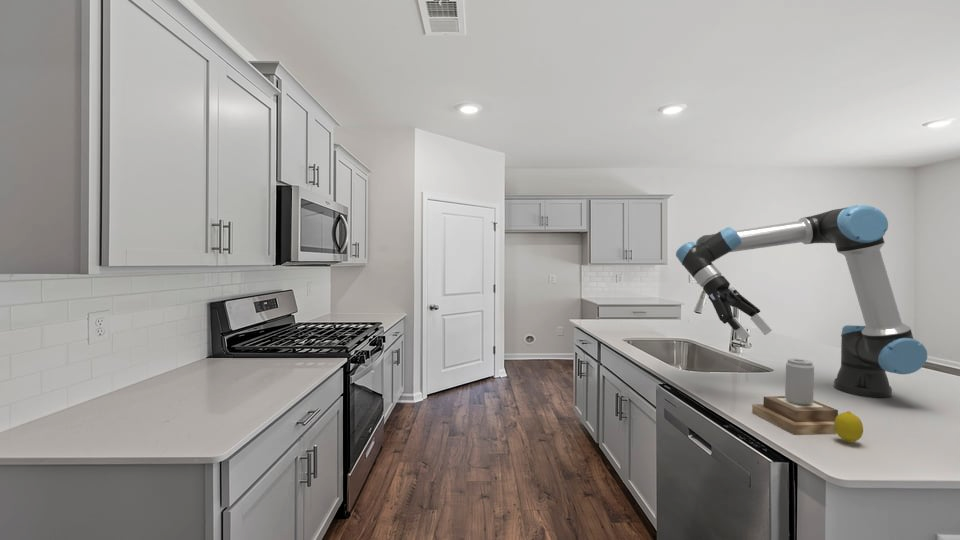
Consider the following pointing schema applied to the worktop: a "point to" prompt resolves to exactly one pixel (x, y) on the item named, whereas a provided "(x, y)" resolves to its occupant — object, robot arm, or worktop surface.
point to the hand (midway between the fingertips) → (758, 335)
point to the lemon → (848, 426)
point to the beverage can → (799, 381)
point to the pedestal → (797, 416)
